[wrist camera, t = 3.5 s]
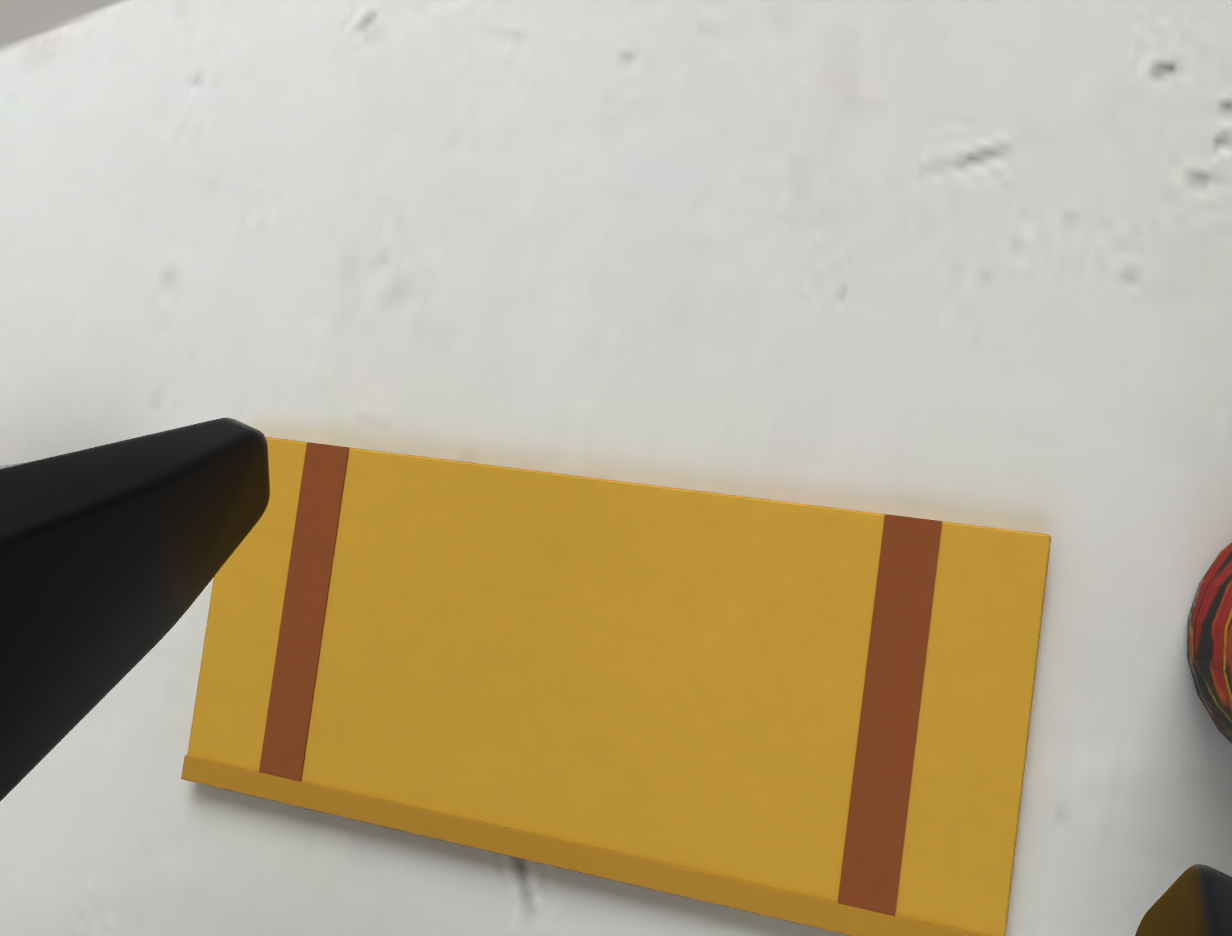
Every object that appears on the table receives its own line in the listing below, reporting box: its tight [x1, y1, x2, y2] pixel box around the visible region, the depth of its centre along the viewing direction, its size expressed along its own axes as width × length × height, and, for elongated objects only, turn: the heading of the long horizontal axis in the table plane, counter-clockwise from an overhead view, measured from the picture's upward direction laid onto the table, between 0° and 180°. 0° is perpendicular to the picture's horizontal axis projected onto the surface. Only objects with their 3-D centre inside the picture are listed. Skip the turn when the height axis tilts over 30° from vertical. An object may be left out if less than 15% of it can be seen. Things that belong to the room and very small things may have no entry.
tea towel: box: [181, 437, 1051, 936], centre depth 25 cm, size 9×20×1 cm, turn 82°
